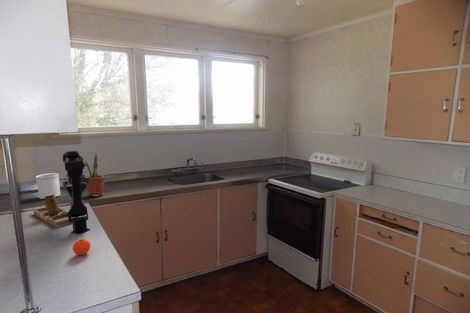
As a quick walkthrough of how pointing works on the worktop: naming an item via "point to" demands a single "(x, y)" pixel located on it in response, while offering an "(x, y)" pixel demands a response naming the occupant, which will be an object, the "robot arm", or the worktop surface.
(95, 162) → the potted plant
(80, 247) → the clementine
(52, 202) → the condiment
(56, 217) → the tray
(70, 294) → the worktop surface
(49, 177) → the utensil holder
